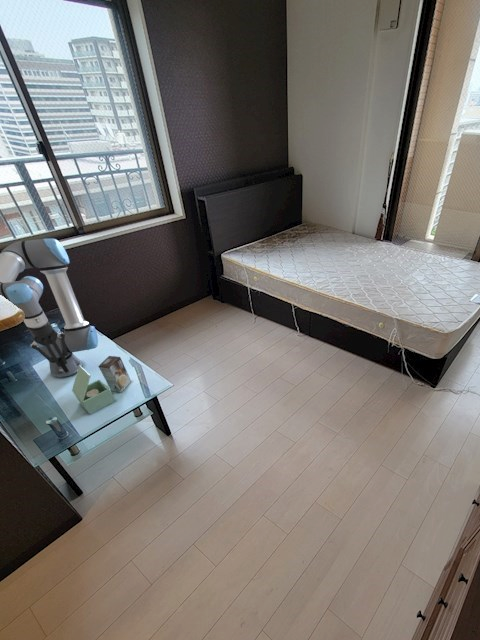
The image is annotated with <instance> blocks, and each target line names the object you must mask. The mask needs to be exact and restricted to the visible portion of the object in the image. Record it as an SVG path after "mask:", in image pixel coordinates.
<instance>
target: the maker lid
mask: <svg viewBox="0 0 480 640" xmlns="http://www.w3.org/2000/svg"><path fill="white" fill-rule="evenodd" d="M91 376H92V375H91V374H90V373H89V372H88V371H87V370H86V369H85V368H84V366H83V367H82V366H79V367H78V371H77V373H76V374H75V378H74V381H73V384H72V385H73V386H72V389H71V392H72V393H73V394H74V396H75V395H76V396H77V397H78V398H79V399H80V401H81V402H83V401H84V398H85V394H86V391H87V387H88V385H89V384H90V380H91ZM76 396H75V397H76ZM77 397H76V398H77Z"/></svg>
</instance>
